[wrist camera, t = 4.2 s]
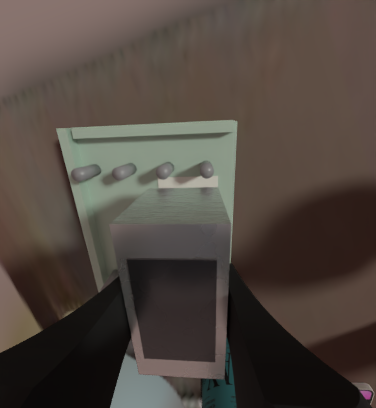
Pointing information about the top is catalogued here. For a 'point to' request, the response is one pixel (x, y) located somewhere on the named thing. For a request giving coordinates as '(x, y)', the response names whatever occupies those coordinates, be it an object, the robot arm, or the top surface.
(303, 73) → the top surface
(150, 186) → the tray
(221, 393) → the beverage bottle
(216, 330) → the block
